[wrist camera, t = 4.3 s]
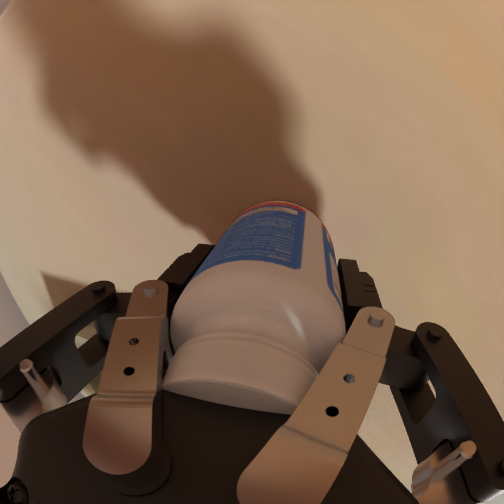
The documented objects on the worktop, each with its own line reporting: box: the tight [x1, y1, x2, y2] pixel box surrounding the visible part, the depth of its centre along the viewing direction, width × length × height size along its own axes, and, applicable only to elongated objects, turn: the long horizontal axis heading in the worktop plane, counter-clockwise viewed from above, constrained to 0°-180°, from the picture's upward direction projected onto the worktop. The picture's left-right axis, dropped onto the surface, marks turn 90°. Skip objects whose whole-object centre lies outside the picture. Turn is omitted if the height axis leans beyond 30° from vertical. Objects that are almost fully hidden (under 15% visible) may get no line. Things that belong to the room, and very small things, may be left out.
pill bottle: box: [162, 201, 346, 415], centre depth 10 cm, size 6×5×10 cm
